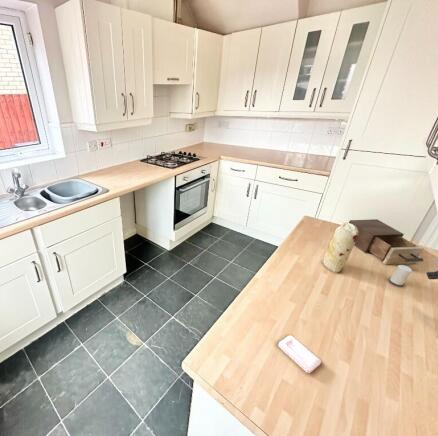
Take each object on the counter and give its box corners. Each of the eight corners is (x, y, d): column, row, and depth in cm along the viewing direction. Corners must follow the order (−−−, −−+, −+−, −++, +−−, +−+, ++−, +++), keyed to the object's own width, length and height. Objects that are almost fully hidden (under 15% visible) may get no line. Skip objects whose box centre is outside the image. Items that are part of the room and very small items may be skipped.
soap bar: (307, 376, 63) (310, 370, 62) (276, 347, 70) (278, 342, 69) (319, 366, 65) (322, 360, 64) (288, 339, 73) (290, 333, 71)
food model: (344, 276, 95) (365, 233, 86) (325, 272, 98) (343, 230, 88) (337, 261, 103) (356, 221, 94) (319, 258, 106) (335, 218, 96)
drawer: (424, 270, 97) (435, 254, 93) (394, 271, 96) (404, 255, 93) (387, 246, 111) (394, 231, 108) (361, 247, 111) (368, 232, 107)
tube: (396, 281, 93) (406, 265, 89) (404, 288, 89) (415, 272, 86) (385, 280, 93) (395, 264, 89) (392, 287, 90) (403, 271, 86)
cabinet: (393, 251, 109) (404, 234, 104) (364, 252, 109) (373, 235, 104) (368, 235, 121) (377, 219, 116) (342, 236, 120) (349, 220, 116)
